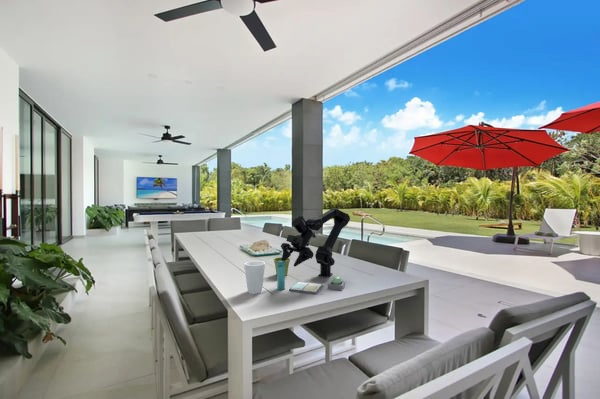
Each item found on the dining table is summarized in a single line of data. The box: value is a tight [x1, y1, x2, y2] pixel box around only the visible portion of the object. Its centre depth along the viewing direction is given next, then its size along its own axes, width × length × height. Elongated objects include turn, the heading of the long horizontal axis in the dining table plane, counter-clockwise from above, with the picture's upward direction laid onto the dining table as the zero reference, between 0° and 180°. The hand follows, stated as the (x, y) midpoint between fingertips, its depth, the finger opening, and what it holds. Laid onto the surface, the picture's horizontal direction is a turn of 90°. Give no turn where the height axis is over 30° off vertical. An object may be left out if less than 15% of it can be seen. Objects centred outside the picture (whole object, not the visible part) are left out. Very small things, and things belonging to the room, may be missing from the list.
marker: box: [276, 261, 286, 291], centre depth 133 cm, size 4×4×13 cm
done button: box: [331, 276, 342, 285], centre depth 137 cm, size 4×4×3 cm
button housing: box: [327, 279, 346, 291], centre depth 137 cm, size 7×7×2 cm
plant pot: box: [273, 256, 291, 276], centre depth 157 cm, size 9×9×9 cm
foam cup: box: [243, 260, 266, 295], centre depth 130 cm, size 10×9×13 cm
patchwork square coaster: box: [288, 281, 324, 295], centre depth 134 cm, size 13×13×1 cm
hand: (287, 264), depth 136 cm, fingers open, 9 cm apart
